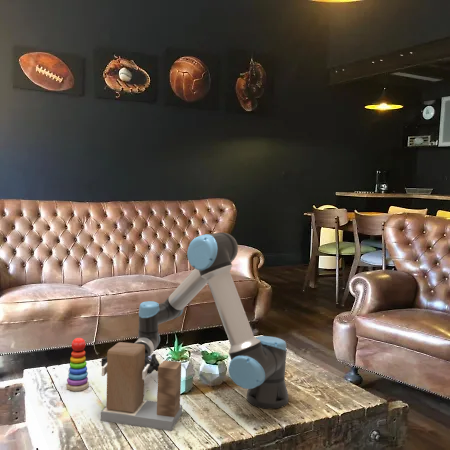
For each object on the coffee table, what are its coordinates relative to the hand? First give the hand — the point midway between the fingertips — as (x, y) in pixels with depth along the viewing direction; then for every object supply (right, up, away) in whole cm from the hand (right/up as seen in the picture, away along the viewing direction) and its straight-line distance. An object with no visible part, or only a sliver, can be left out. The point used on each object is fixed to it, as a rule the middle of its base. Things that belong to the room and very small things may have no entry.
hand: (123, 373), depth 163 cm
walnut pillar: (+14, -13, +2) cm, 20 cm away
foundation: (+6, -15, +4) cm, 17 cm away
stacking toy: (-22, -12, +24) cm, 35 cm away
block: (0, -12, +4) cm, 13 cm away
